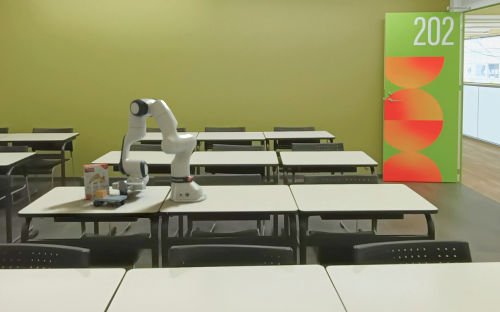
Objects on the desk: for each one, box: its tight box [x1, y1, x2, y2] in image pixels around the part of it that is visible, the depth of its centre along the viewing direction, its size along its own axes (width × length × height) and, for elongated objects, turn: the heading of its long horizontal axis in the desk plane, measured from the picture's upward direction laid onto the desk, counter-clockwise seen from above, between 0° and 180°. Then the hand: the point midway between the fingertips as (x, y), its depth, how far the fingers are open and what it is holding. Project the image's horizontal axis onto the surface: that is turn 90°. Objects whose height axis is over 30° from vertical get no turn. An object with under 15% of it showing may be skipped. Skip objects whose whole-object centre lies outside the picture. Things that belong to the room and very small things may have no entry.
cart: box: [90, 179, 128, 208], centre depth 276 cm, size 18×9×14 cm, turn 77°
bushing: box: [118, 179, 129, 198], centre depth 285 cm, size 5×5×10 cm
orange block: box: [95, 190, 107, 198], centre depth 277 cm, size 5×5×4 cm
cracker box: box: [82, 162, 111, 201], centre depth 292 cm, size 14×6×21 cm, turn 117°
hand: (122, 188), depth 284 cm, fingers closed on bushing, 5 cm apart
